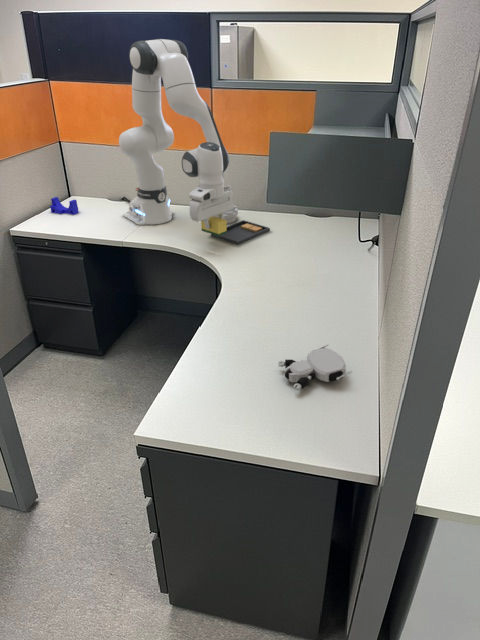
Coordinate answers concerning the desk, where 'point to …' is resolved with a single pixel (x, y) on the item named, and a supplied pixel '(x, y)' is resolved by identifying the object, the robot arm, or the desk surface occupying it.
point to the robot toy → (315, 367)
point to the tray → (241, 233)
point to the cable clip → (60, 209)
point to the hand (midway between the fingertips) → (213, 226)
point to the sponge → (215, 226)
